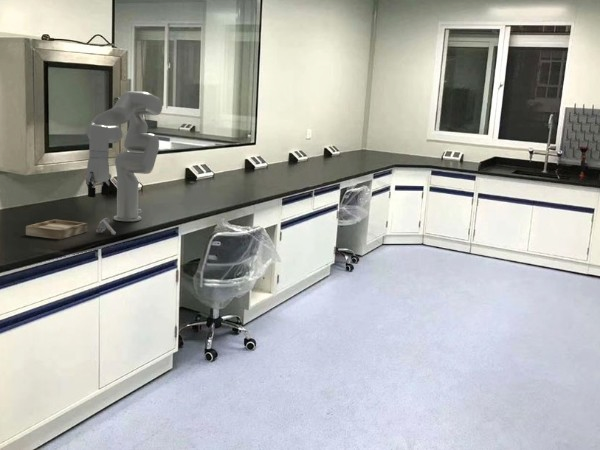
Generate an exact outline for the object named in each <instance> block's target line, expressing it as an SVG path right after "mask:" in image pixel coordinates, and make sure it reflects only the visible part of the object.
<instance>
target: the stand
mask: <svg viewBox="0 0 600 450" xmlns="http://www.w3.org/2000/svg"><path fill="white" fill-rule="evenodd" d="M110 221H111V219H110V218H108V217H105V218H103V219H102V220H101V221H99V223H98V225H97V228H96V233H98V234H99V233H103V232H104V231H106V230H108V231H109V232H110V233H111V235H113V236H115V235H116V233H117V232H116V231H115V230H114V228H112V226H111V225H110Z"/></svg>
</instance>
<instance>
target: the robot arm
mask: <svg viewBox="0 0 600 450" xmlns="http://www.w3.org/2000/svg"><path fill="white" fill-rule="evenodd" d="M162 111H163V102H162V100H161V98H159V97H158V96H156V95H154V94H152V93H149V92H147V91H132V90H127V91H124V92H123V93H121V95H120V96H119V98H118V100H117V101H116V102H115V104H114V105H113V107H111V108H110V109H107V110H106V111H104V112H101V113H99V114H97V115H96V116H95V117H94V118H93V119H92V120H91V122H90V123H89V126H88V128H87V130H86V132H87V133H86V135H87V138H88V139H89V152H88V153H89V156H88V157H89V158H88V160H87V166H86V176H85V177H84V179H85V183H86V188H87V197H88V198H96V193H97V192H96V191H97V190H96V187H95V186H96V185H97V184H101V191H100V192H101V195H102V196H109V195H110V185H111V184H110V183H111V179H112V174H111V173H110V163H109V148H110V147H109V144H117V143H119V142H120V141H121V140H122V138H123V131H122V129H121V128H120V126H119V125H122V124H126V123H128V122H129V124H128V129H127V133H126V135H125V139H124V142H123V147H124V149H125V150H126V151H122V152H119V153H117V154H116V156H115V158H114V165H115V170H116V180H117V181H116V183H117V184H116V185H117V186H116V215H113V220H114V221H118V222H137V221H142V216H140V215H139V214H141V213H142V211H143V210H142V209H141V208H139V180H138V178H137V177H136V175H135V174H141V175H148V174H151V173H152V172H153V170H154V167H155V163H156V160H157V157H158V153H159V148H160V140H159V137H158V136H157V135H156V134H154V133H149V132H148V129H149V126H148V125H149V124H147V121H146V120H145V118H144V117H143V115H145V116H158V115H160V114H161V113H162ZM147 132H148V133H147Z"/></svg>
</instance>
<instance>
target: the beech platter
mask: <svg viewBox="0 0 600 450" xmlns="http://www.w3.org/2000/svg"><path fill="white" fill-rule="evenodd" d="M87 232H88V222H81V221H79V222H78V221H71V220H64V219H63V220H62V219H51V220H46V221H42V222H41V221H40V222H37V223H34V224H29V225H26V226H25V236H29V237H30V236H31V237H38V238H39V237H40V238H46V239H55V240H64V239H67V238H70V237H74V236H78V235H81V234H84V233H87Z"/></svg>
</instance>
